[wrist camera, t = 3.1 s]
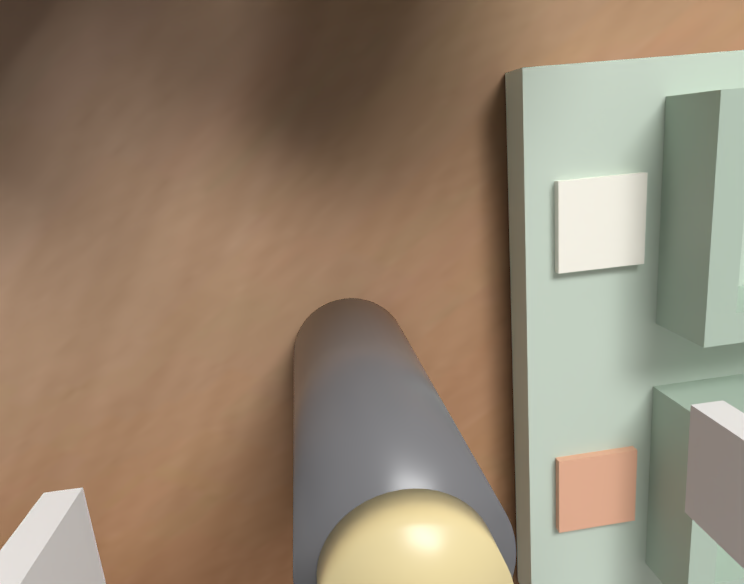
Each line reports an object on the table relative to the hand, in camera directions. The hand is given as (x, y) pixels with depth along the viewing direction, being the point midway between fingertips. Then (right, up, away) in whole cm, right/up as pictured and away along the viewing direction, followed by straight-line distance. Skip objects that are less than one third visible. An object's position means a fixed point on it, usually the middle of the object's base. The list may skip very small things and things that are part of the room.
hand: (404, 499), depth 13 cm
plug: (-2, +2, +8) cm, 9 cm away
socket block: (+11, +3, +10) cm, 15 cm away
